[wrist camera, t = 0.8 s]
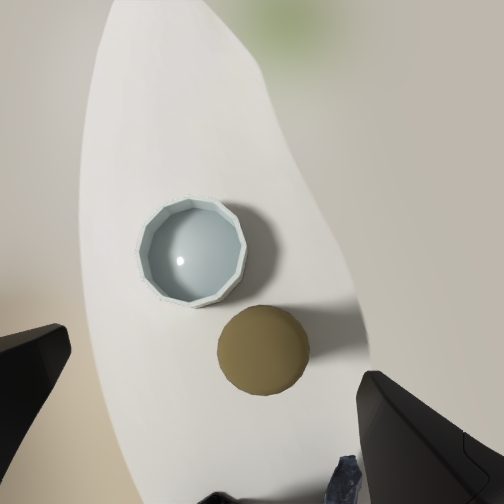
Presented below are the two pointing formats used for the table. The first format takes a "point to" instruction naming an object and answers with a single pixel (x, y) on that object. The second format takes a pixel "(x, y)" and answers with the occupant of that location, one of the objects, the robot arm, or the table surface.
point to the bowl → (191, 251)
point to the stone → (344, 482)
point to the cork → (263, 350)
